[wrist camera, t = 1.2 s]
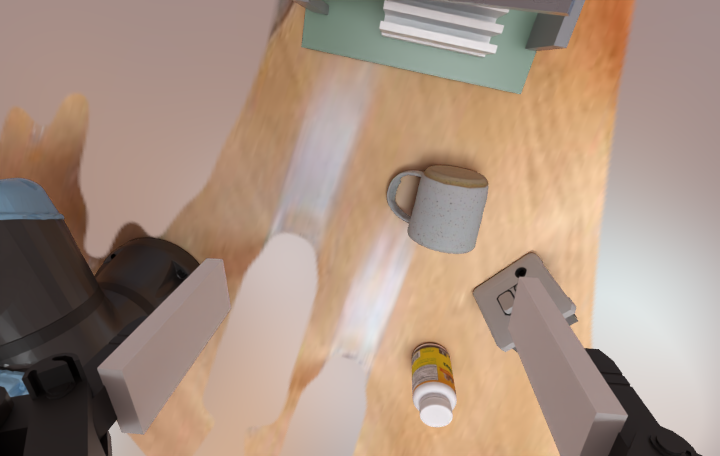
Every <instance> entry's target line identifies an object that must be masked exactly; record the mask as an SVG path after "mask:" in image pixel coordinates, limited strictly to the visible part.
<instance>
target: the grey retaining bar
mask: <svg viewBox="0 0 720 456" xmlns="http://www.w3.org/2000/svg"><path fill="white" fill-rule="evenodd" d="M428 1H437V2H446V3H455V4H464V5H473V6H482V7H490V8H499V9H508V10H517V11H526V12H535V13H544V14H553V15H561V16H570V13H571V11H572V8H573V6H574V3H575V0H428Z"/></svg>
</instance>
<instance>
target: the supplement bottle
mask: <svg viewBox="0 0 720 456" xmlns="http://www.w3.org/2000/svg"><path fill="white" fill-rule="evenodd" d="M412 390H413V402H414V405H415V407H416V408H417V409H418V410H419V411H420V418H421V420H422V421H423V422H424V423H425V424H427V425H429V426H432V427H443V426H446V425H447V424H449V423H450V422H451V420H452V410H453V409H454V407H455V405H456V401H457V400H456V392H455V386H454V380H453V374H452V367H451V361H450V356H449V354H448V352H447V351H446V350H445V349H444V348H443V347H442V346H440V345H437V344H432V343H428V344H423V345H421V346H419V347H417V348H416V349H415V350H414V352H413V354H412Z"/></svg>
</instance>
